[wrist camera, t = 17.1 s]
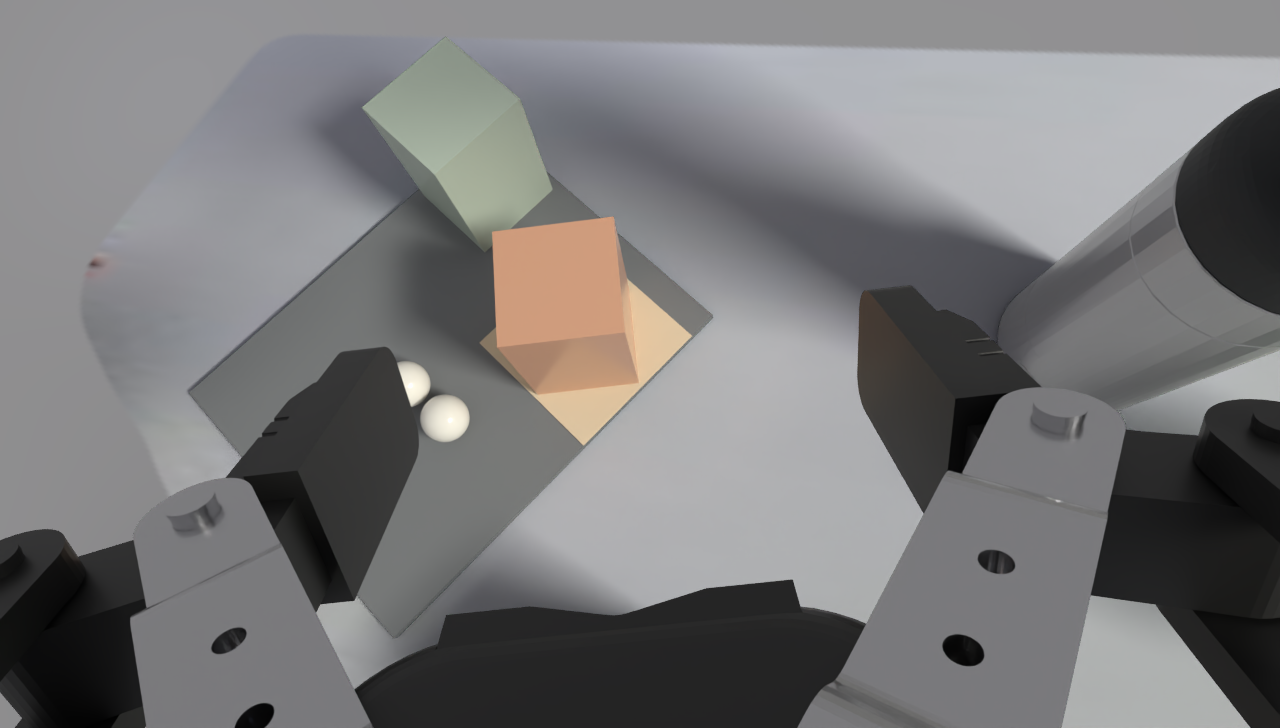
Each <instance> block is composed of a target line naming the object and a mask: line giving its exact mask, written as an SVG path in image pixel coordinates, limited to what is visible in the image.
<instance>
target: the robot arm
mask: <svg viewBox="0 0 1280 728" xmlns="http://www.w3.org/2000/svg"><path fill="white" fill-rule="evenodd" d="M1279 350H1280V88H1278V89H1275V90H1273V91H1270V92H1268V93H1266V94H1264V95H1261V96H1259V97H1257V98H1256V99H1254V100H1252V101H1250V102H1249V103H1247V104H1245V105H1244V106H1242V107H1241V108H1240V109H1238V110H1237V111H1235V112H1234V113H1233V114H1231V115H1230V116H1229V117H1227V118H1226V119H1225V120H1224V121H1222V122H1221V123H1220V124H1219V125H1218V126H1217V127H1215V128H1214V129H1213V130H1212V131H1211V132H1210V133H1208V134H1207V135H1206V136H1205V137H1204V138H1203V139H1201V140H1200V141H1199V142H1198V143H1197V144H1196V145H1195V146H1194V147H1192V148H1191V149H1190V150H1189V151H1188V152H1187V153H1185V154H1184V155H1183V156H1182V157H1181V158H1179V159H1178V160H1177V161H1176V162H1175V163H1174V164H1172V165H1171V166H1170V167H1169V168H1168V169H1166V170H1165V171H1164V172H1163V173H1162V174H1161V175H1159V176H1158V177H1157V178H1156V179H1155V180H1154V181H1153V182H1152V183H1150V184H1149V185H1148V186H1147V187H1146V188H1144V189H1143V190H1142V191H1141V192H1140V193H1138V194H1137V195H1136V196H1135V197H1134V198H1133V199H1131V200H1130V201H1129V202H1128V203H1127V204H1125V205H1124V206H1123V207H1122V208H1121V209H1119V210H1118V211H1117V212H1116V213H1115V214H1113V215H1112V216H1111V217H1110V218H1109V219H1108V220H1106V221H1105V222H1104V223H1103V224H1102V225H1100V226H1099V227H1098V228H1097V229H1096V230H1094V231H1093V232H1092V233H1091V234H1090V235H1089V236H1087V237H1086V238H1085V239H1084V240H1083V241H1081V242H1080V243H1079V244H1078V245H1077V246H1075V247H1074V248H1073V249H1072V250H1071V251H1069V252H1068V253H1067V254H1066V255H1065V256H1064V257H1062V258H1061V259H1060V260H1059V261H1058V262H1056V263H1055V264H1054V265H1053V266H1052V267H1050V268H1049V269H1048V270H1046V271H1045V272H1044V273H1043V274H1042V275H1041V276H1039V277H1038V278H1037V279H1036V280H1035V281H1033V282H1032V283H1031V284H1030V285H1029V286H1028V287H1026V288H1025V289H1024V290H1023V291H1022V292H1020V293H1019V294H1018V295H1017V296H1016V297H1015V298H1014V299H1013V300H1012V301H1011V303H1010V304H1009V305H1008V306H1007V308H1006V310H1005V312H1004V314H1003V315H1002V317H1001V321H1000V325H999V329H998V345H997V344H996V343H995V342H994V341H993V340H991V341H990V337H989V336H988V335H987V334H986V333H985V332H984V331H983V330H981V329H980V328H979V327H978V326H977V325H976V324H975V323H974V322H973V321H970V320H968V319H966V318H964V317H961V316H959V315H957V314H955V313H952V312H950V311H948V310H941V311H936V310H935V309H934V308H933V307H932V306H931V305H930V304H929V303H928V302H927V301H926V300H925V299H924V298H923V297H922V296H921V295H920V294H919V293H918V292H917V291H916V290H915V289H914V288H913V287H912V286H910V285H909V286H900V287H892V288H883V289H875V290H867V291H864V292H863V293H862V296H861V299H860V308H859V339H858V371H857V377H858V388H859V394H860V398H861V402H862V405H863V408H864V410H865V412H866V414H867V415H868V417H869V419H870V421H871V422H872V424H873V426H874V428H875V429H876V431H877V433H878V435H879V436H880V438H881V440H882V442H883V443H884V445H885V447H886V449H887V450H888V452H889V454H890V456H891V457H892V459H893V461H894V463H895V464H896V466H897V468H898V470H899V471H900V473H901V475H902V477H903V478H904V480H905V482H906V484H907V485H908V487H909V489H910V491H911V492H912V494H913V496H914V497H915V499H916V501H917V503H918V504H919V506H920V508H921V510H922V511H923V513H924V515H923V516H922V518H921V520H920V522H919V524H918V526H917V528H916V530H915V532H914V534H913V536H912V537H911V539H910V541H909V543H908V545H907V547H906V549H905V551H904V553H903V555H902V557H901V559H900V560H899V562H898V564H897V566H896V568H895V570H894V572H893V574H892V576H891V578H890V580H889V581H888V583H887V585H886V587H885V589H884V591H883V593H882V595H881V597H880V599H879V601H878V602H877V604H876V606H875V608H874V610H873V612H872V614H871V616H870V618H869V620H868V622H867V624H865V623H863V622H861V621H858V620H856V619H853V618H850V617H847V616H843V615H840V614H837V613H834V612H829V611H824V610H819V609H815V608H807V607H800V604H799V600H798V597H797V593H796V590H795V586H794V583H793V580H784V581H774V582H764V583H755V584H745V585H735V586H725V587H716V588H706V589H703V590H700V591H697V592H693V593H690V594H687V595H684V596H681V597H678V598H674V599H671V600H668V601H665V602H662V603H659V604H655V605H652V606H649V607H646V608H643V609H640V610H636V611H633V612H630V613H627V614H623V615H615V616H612V615H600V614H592V613H583V612H574V611H565V610H556V609H547V608H538V607H522V608H512V609H502V610H492V611H483V612H473V613H463V614H454V615H446V618H445V621H444V625H443V628H442V632H441V635H440V639H439V643H438V644H437V645H434V646H431V647H428V648H425V649H423V650H421V651H418V652H416V653H413V654H411V655H409V656H407V657H405V658H403V659H401V660H399V661H397V662H395V663H393V664H391V665H390V666H388V667H386V668H385V669H383V670H381V671H380V672H378V673H377V674H375V675H374V676H372V677H370V678H369V679H368V680H366V681H365V682H364V683H362V684H361V685H360V686H358V687H357V688H356V689H354V688H353V686H352V684H351V682H350V680H349V678H348V676H347V674H346V672H345V670H344V668H343V666H342V664H341V662H340V660H339V658H338V656H337V654H336V652H335V650H334V648H333V646H332V644H331V642H330V640H329V638H328V636H327V634H326V632H325V630H324V628H323V626H322V624H321V622H320V620H319V618H318V616H317V614H316V612H317V610H318V608H319V606H320V604H327V603H337V602H346V601H355V598H356V596H357V594H358V591H359V589H360V587H361V585H362V582H363V580H364V578H365V575H366V573H367V571H368V569H369V566H370V564H371V562H372V560H373V557H374V555H375V553H376V550H377V548H378V546H379V544H380V541H381V539H382V537H383V534H384V532H385V530H386V528H387V525H388V523H389V521H390V519H391V516H392V514H393V512H394V509H395V507H396V505H397V503H398V500H399V498H400V496H401V493H402V491H403V489H404V487H405V484H406V482H407V480H408V478H409V475H410V473H411V471H412V468H413V466H414V464H415V462H416V459H417V456H418V450H419V434H418V428H417V424H416V420H415V417H414V414H413V411H412V408H411V405H410V402H409V399H408V396H407V393H406V389H405V386H404V383H403V380H402V377H401V374H400V371H399V368H398V365H397V362H396V359H395V357H394V355H393V353H392V351H391V350H390V349H389V348H387V347H376V348H368V349H360V350H351V351H343V352H340V353H339V354H338V355H337V357H336V358H335V359H334V360H333V362H332V363H331V364H330V366H329V367H328V368H327V369H326V371H325V372H324V373H323V375H322V376H321V377H320V378H319V380H318V381H317V382H315V383H312V384H311V385H310V386H308V387H307V388H305V389H304V390H302V391H301V392H300V393H298V394H297V395H295V396H294V397H292V398H291V399H289V400H288V402H287V403H286V404H285V405H284V407H283V408H282V409H281V410H280V411H279V413H278V414H277V415H276V416H275V418H274V422H271V423H270V424H269V425H268V426H267V427H266V429H265V430H264V431H263V432H262V437H258V439H257V440H256V441H255V442H254V443H253V445H252V446H251V447H250V448H249V450H248V451H247V452H246V453H245V455H244V456H243V457H242V458H241V459H240V461H239V462H238V463H237V464H236V466H235V467H234V468H233V469H232V471H231V472H230V473H229V474H228V475H227V477H226V478H221V479H215V480H210V481H206V482H203V483H199V484H196V485H194V486H191V487H188V488H186V489H184V490H182V491H180V492H177V493H176V494H174V495H172V496H170V497H168V498H167V499H165V500H164V501H162V502H160V503H159V504H158V505H156V506H155V507H154V508H152V509H151V510H150V511H149V512H148V513H147V514H146V515H145V516H144V517H143V518H142V519H141V520H140V521H139V523H138V525H137V526H136V528H135V531H134V533H133V534H134V536H133V538H134V540H132V541H129V542H126V543H122V544H119V545H116V546H112V547H109V548H106V549H102V550H99V551H96V552H92V553H89V554H86V555H83V556H79V557H78V556H77V555H76V553H75V552H74V550H73V549H72V547H71V546H70V544H69V543H68V542H67V540H66V538H65V537H64V535H63V534H62V533H61V532H59V531H56V530H49V529H42V530H34V531H29V532H24V533H21V534H17V535H14V536H11V537H8V538H5V539H3V540H0V692H1V694H2V695H3V696H4V697H5V698H6V700H7V701H8V702H9V703H10V704H11V705H12V707H13V708H14V709H15V710H16V711H17V713H18V714H19V715H20V716H21V717H22V719H21V721H20V722H19V723H18V724H17V726H16V727H15V728H145V727H147V728H1061V727H1062V723H1063V718H1064V713H1065V709H1066V704H1067V700H1068V695H1069V691H1070V686H1071V682H1072V677H1073V673H1074V668H1075V664H1076V659H1077V654H1078V650H1079V645H1080V641H1081V636H1082V632H1083V627H1084V623H1085V618H1086V614H1087V609H1088V605H1089V600H1090V595H1093V596H1100V597H1107V598H1114V599H1121V600H1128V601H1135V602H1142V603H1149V604H1156V606H1157V607H1158V609H1159V610H1160V612H1161V613H1162V614H1163V616H1164V617H1165V618H1166V619H1167V621H1168V622H1169V623H1170V625H1171V626H1172V627H1173V628H1174V630H1175V631H1176V632H1177V634H1178V635H1179V636H1180V637H1181V639H1182V640H1183V641H1184V643H1185V644H1186V645H1187V646H1188V648H1189V649H1190V650H1191V652H1192V653H1193V654H1194V655H1195V657H1196V658H1197V659H1198V661H1199V662H1200V663H1201V664H1202V666H1203V667H1204V668H1205V670H1206V671H1207V672H1208V674H1209V675H1210V676H1211V677H1212V679H1213V680H1214V681H1215V683H1216V684H1217V685H1218V686H1219V688H1220V689H1221V690H1222V692H1223V693H1224V694H1225V695H1226V697H1227V698H1228V699H1229V701H1230V702H1231V703H1232V704H1233V706H1234V707H1235V708H1236V710H1237V711H1238V712H1239V713H1240V715H1241V716H1242V717H1243V719H1244V720H1245V721H1246V722H1247V724H1248V725H1249V726H1250V728H1280V402H1277V401H1269V400H1257V399H1239V400H1231V401H1225V402H1221V403H1218V404H1216V405H1214V406H1212V407H1211V408H1210V409H1208V410H1207V412H1206V414H1205V416H1204V419H1203V423H1202V426H1201V429H1200V432H1199V436H1196V435H1182V434H1168V433H1154V432H1141V431H1132V430H1126V425H1125V422H1124V419H1123V418H1122V416H1121V415H1120V414H1119V413H1118V412H1117V411H1118V410H1121V409H1124V408H1126V407H1129V406H1132V405H1134V404H1137V403H1140V402H1142V401H1145V400H1148V399H1151V398H1154V397H1157V396H1159V395H1162V394H1165V393H1167V392H1170V391H1173V390H1175V389H1178V388H1181V387H1183V386H1186V385H1189V384H1191V383H1194V382H1197V381H1199V380H1202V379H1205V378H1207V377H1210V376H1213V375H1215V374H1218V373H1220V372H1223V371H1226V370H1228V369H1231V368H1234V367H1236V366H1239V365H1242V364H1244V363H1247V362H1250V361H1252V360H1255V359H1258V358H1260V357H1263V356H1266V355H1268V354H1271V353H1274V352H1276V351H1279Z"/></svg>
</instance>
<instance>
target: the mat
mask: <svg viewBox="0 0 1280 728" xmlns="http://www.w3.org/2000/svg"><path fill="white" fill-rule="evenodd" d="M547 175H548V178H549V180H550V183H551V186H552V189H553V190H552V191H551V192H550V193H549V194H548V195H547V196H546V197H544V198H543V199H542V200H541V201H540V202H539V203H538V204H537V205H536V206H535V207H534V208H532V209H531V210H530V211H529V212H528V213H527V214H526V215H525V216H524V217H523V218H522V219H521V220H519V221H518V222H517V223H516V224H515V225H514V226H513V227H512V228H511V229H518V228H526V227H534V226H542V225H550V224H558V223H566V222H574V221H582V220H590V219H598V218H600V217H598V216H597V215H596V214H595V213H594V212H593V211H592V210H590V209H589V208H588V207H587V206H586V205H585V204H583V203H582V202H581V201H580V200H579V199H578V198H576V197H575V196H574V195H573V194H572V193H571V192H570V191H568V190H567V189H566V188H565V187H564V186H563V185H561V184H560V183H559V182H558V181H557V180H556V179H554V178H553V177H552V176H551V175H550V174H549V173H548V172H547ZM617 235H618V239H619V244H620V248H621V253H622V258H623V262H624V267H625V271H626V276H627V281H628V285H629V291H630V301H631V310H632V320H633V330H634V340H635V349H636V359H637V369H638V379H639V383H636V384H627V385H618V386H609V387H601V388H592V389H583V390H575V391H566V392H557V393H548V394H540V395H538V394H537V393H536V392H535V391H534V390H533V389H532V387H531V386H530V385H529V384H528V383H527V382H526V380H525V379H524V378H523V377H522V376H521V375H520V373H519V372H518V371H517V370H516V369H515V368H514V367H513V365H512V364H511V363H510V362H509V361H508V360H507V358H506V357H505V356H504V355H503V354H502V353H501V352H500V350H499V349H498V348H497V335H496V312H495V288H494V264H493V245H492V246H491V247H490V248H489V249H488V250H487V251H486V252H484V251H483V250H482V249H481V248H480V247H478V246H477V245H476V244H475V243H474V242H473V241H472V240H471V239H470V238H469V237H468V236H467V235H466V234H465V233H463V232H462V231H461V230H460V229H459V228H458V227H457V226H456V225H455V224H454V223H453V222H452V221H451V220H450V219H448V218H447V217H446V216H445V215H444V214H443V213H442V212H441V211H440V210H439V209H438V208H437V207H436V206H435V205H434V204H432V203H431V202H430V201H429V200H428V199H427V198H426V197H425V196H424V195H423V193H422V192H421V191H420V189H419V190H417V191H416V192H415V193H414V194H413V195H412V196H411V197H410V198H408V199H407V200H406V201H405V202H404V203H403V204H402V205H401V206H399V207H398V208H397V209H396V210H395V211H394V212H393V213H392V214H390V215H389V216H388V217H387V218H386V219H385V220H384V221H382V222H381V223H380V224H379V225H378V226H377V227H376V228H375V229H373V230H372V231H371V232H370V233H369V234H368V235H367V236H366V237H364V238H363V239H362V240H361V241H360V242H359V243H358V244H357V245H355V246H354V247H353V248H352V249H351V250H350V251H349V252H347V253H346V254H345V255H344V256H343V257H342V258H341V259H340V260H338V261H337V262H336V263H335V264H334V265H333V266H332V267H331V268H329V269H328V270H327V271H326V272H325V273H324V274H323V275H321V276H320V277H319V278H318V279H317V280H316V281H315V282H314V283H312V284H311V285H310V286H309V287H308V288H307V289H306V290H305V291H303V292H302V293H301V294H300V295H299V296H298V297H297V298H296V299H294V300H293V301H292V302H291V303H290V304H289V305H288V306H286V307H285V308H284V309H283V310H282V311H281V312H280V313H279V314H277V315H276V316H275V317H274V318H273V319H272V320H271V321H270V322H268V323H267V324H266V325H265V326H264V327H263V328H262V329H261V330H259V331H258V332H257V333H256V334H255V335H254V336H253V337H251V338H250V339H249V340H248V341H247V342H246V343H245V344H244V345H242V346H241V347H240V348H239V349H238V350H237V351H236V352H235V353H233V354H232V355H231V356H230V357H229V358H228V359H227V360H225V361H224V362H223V363H222V364H221V365H220V366H219V367H218V368H216V369H215V370H214V371H213V372H212V373H211V374H210V375H209V376H207V377H206V378H205V379H204V380H203V381H202V382H201V383H200V384H198V385H197V386H196V387H195V388H194V389H193V390H192V391H190V392H189V394H190V395H191V396H192V397H193V399H194V400H195V401H196V402H197V403H198V405H199V406H200V407H201V408H202V409H203V411H204V412H205V413H206V414H207V415H208V417H209V418H210V419H211V420H212V421H213V423H214V424H215V425H216V426H217V427H218V429H219V430H220V431H221V432H222V433H223V435H224V436H225V437H226V438H227V439H228V441H229V442H230V443H231V444H232V445H233V447H234V448H235V449H236V450H237V451H238V453H239V454H240V455H241V456H242V457H243V456H244V455H245V453H246V452H247V451H248V450H249V448H250V447H251V446H252V445H253V443H254V442H255V441H256V440H257V439H258V437H262V432H263V431H264V430H265V429H266V427H267V426H268V425H269V424H270V423H271V422H274V418H275V416H276V415H277V414H278V413H279V411H280V410H281V409H282V408H283V407H284V405H285V404H286V403H287V402H288V400H289V399H291V398H292V397H294V396H295V395H297V394H298V393H300V392H301V391H302V390H304V389H305V388H307V387H308V386H310V385H311V384H312V383H315V382H317V381H318V380H319V378H320V377H321V376H322V375H323V373H324V372H325V371H326V369H327V368H328V367H329V366H330V364H331V363H332V362H333V360H334V359H335V358H336V357H337V355H338V354H339V353H340V352H343V351H351V350H360V349H368V348H376V347H387V348H389V349H390V350H391V351H392V353H393V355H394V357H395V359H396V362H401V361H411V362H415V363H417V364H419V365H421V366H422V367H423V368H424V369H425V370H426V371H427V373H428V375H429V377H430V383H431V386H430V391H429V394H428V395H427V397H426V398H425V400H424V401H423V402H421V403H420V404H419V405H417V406H414V407H411V408H412V411H413V414H414V417H415V420H416V424H417V428H418V434H419V450H418V456H417V459H416V462H415V464H414V466H413V468H412V471H411V473H410V475H409V478H408V480H407V482H406V484H405V487H404V489H403V491H402V493H401V496H400V498H399V500H398V503H397V505H396V507H395V509H394V512H393V514H392V516H391V519H390V521H389V523H388V525H387V528H386V530H385V532H384V534H383V537H382V539H381V541H380V544H379V546H378V548H377V550H376V553H375V555H374V557H373V560H372V562H371V564H370V566H369V569H368V571H367V573H366V575H365V578H364V580H363V582H362V585H361V587H360V589H359V591H358V594H357V595H358V596H359V598H360V599H361V600H362V601H363V602H364V604H365V605H366V606H367V607H368V608H369V610H370V611H371V612H372V613H373V614H374V616H375V617H376V618H377V619H378V620H379V622H380V623H381V624H382V625H383V626H384V627H385V629H386V630H387V631H388V632H389V633H390V635H391V636H392V637H393V638H397V637H398V636H399V635H400V634H401V633H402V632H403V631H404V630H405V629H406V628H407V627H408V626H409V625H410V624H411V623H412V622H413V621H414V620H415V619H416V618H417V617H418V616H419V615H420V614H421V613H422V612H423V611H424V610H425V609H426V608H427V607H428V606H429V605H430V604H431V603H432V602H433V601H434V600H435V599H436V598H437V597H438V596H439V595H440V594H441V593H442V592H443V591H444V590H445V589H446V588H447V587H448V586H449V585H450V584H451V583H452V582H453V581H454V580H455V579H456V578H457V577H458V576H459V575H460V574H461V573H462V572H463V571H464V570H465V569H466V568H467V567H468V566H469V565H470V564H471V563H472V561H473V560H474V559H475V558H476V557H477V556H478V555H479V554H480V553H481V552H482V551H483V550H484V549H485V548H486V547H487V546H488V545H489V544H490V543H491V542H492V541H493V540H494V539H495V538H496V537H497V536H498V535H499V534H500V533H501V532H502V531H503V530H504V529H505V528H506V527H507V526H508V525H509V524H510V523H511V522H512V521H513V520H514V519H515V518H516V517H517V516H518V515H519V514H520V513H521V512H522V511H523V510H524V509H525V508H526V507H527V506H528V505H529V504H530V503H531V502H532V501H533V500H534V499H535V498H536V497H537V496H538V495H539V494H540V493H541V492H542V491H543V490H544V489H545V488H546V486H547V485H548V484H549V483H550V482H551V481H552V480H553V479H554V478H555V477H556V476H557V475H558V474H559V473H560V472H561V471H562V470H563V469H564V468H565V467H566V466H567V465H568V464H569V463H570V462H571V461H572V460H573V459H574V458H575V457H576V456H577V455H578V454H579V453H580V452H581V451H582V450H583V449H584V448H585V447H586V446H587V445H588V444H589V443H590V442H591V441H592V440H593V439H594V438H595V437H596V436H597V435H598V434H599V433H600V432H601V431H602V430H603V429H604V428H605V427H606V426H607V425H608V424H609V423H610V422H611V421H612V420H613V419H614V418H615V417H616V416H617V415H618V414H619V413H620V412H621V410H622V409H623V408H624V407H625V406H626V405H627V404H628V403H629V402H630V401H631V400H632V399H633V398H634V397H635V396H636V395H637V394H638V393H639V392H640V391H641V390H642V389H643V388H644V387H645V386H646V385H647V384H648V383H649V382H650V381H651V380H652V379H653V378H654V377H655V376H656V375H657V374H658V373H659V372H660V371H661V370H662V369H663V368H664V367H665V366H666V365H667V364H668V363H669V362H670V361H671V360H672V359H673V358H674V357H675V356H676V355H677V354H678V353H679V352H680V351H681V350H682V349H683V348H684V347H685V346H686V345H687V344H688V343H689V342H690V341H691V340H692V339H693V338H694V337H695V335H696V334H697V333H698V332H699V331H700V330H701V329H702V328H703V327H704V326H705V325H706V324H707V323H708V322H709V321H710V320H711V319H712V318H713V315H712V314H711V313H710V312H709V311H707V310H706V309H705V308H704V307H703V306H702V305H700V304H699V303H698V302H697V301H696V300H695V299H693V298H692V297H691V296H690V295H689V294H688V293H687V292H685V291H684V290H683V289H682V288H681V287H680V286H678V285H677V284H676V283H675V282H674V281H673V280H671V279H670V278H669V277H668V276H667V275H666V274H664V273H663V272H662V271H661V270H660V269H659V268H658V267H656V266H655V265H654V264H653V263H652V262H651V261H649V260H648V259H647V258H646V257H645V256H644V255H642V254H641V253H640V252H639V251H638V250H637V249H636V248H634V247H633V246H632V245H631V244H630V243H629V242H627V241H626V240H625V239H624V238H623V237H622V236H620V235H619V234H618V233H617ZM443 394H448V395H453V396H456V397H458V398H459V399H461V400H462V401H463V402H464V403H465V404H466V406H467V408H468V410H469V415H470V421H469V425H468V428H467V430H466V431H465V433H464V434H463V435H462V436H461V437H459V438H458V439H456V440H454V441H451V442H438V441H435V440H433V439H431V438H430V437H428V436H427V435H426V434H425V432H424V431H423V429H422V427H421V423H420V414H421V411H422V408H423V407H424V405H425V404H426V403H427V402H428V401H429V400H430V399H431V398H433V397H435V396H438V395H443Z"/></svg>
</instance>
